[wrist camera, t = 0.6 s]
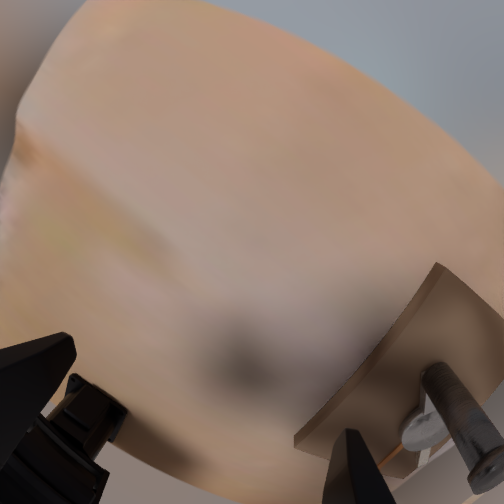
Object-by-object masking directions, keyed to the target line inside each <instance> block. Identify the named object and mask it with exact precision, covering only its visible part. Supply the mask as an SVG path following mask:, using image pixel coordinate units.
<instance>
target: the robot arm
mask: <svg viewBox="0 0 504 504" xmlns="http://www.w3.org/2000/svg"><path fill="white" fill-rule="evenodd" d="M76 356H77V353H76V348H75V344H74V340H73V337H72V336H71V335H69V334H67V333H65V332H59V333H56V334H53V335H49V336H46V337H42V338H39V339H35V340H32V341H28V342H24V343H21V344H17V345H14V346H10V347H7V348H3V349H0V504H99V501H100V499H101V496H102V493H103V490H104V488H105V485H106V483H107V480H108V477H109V474H110V473H109V472H108V471H107V470H106V469H103V468H101V467H100V466H99V465H98V464H96V463H95V462H94V460H95V458H96V457H97V455H98V454H99V452H100V451H101V449H102V448H103V446H104V445H105V443H106V441H109V442H111V443H112V442H113V441H114V440H115V438H116V436H117V434H118V432H119V430H120V428H121V426H122V423H123V421H124V419H125V417H126V415H127V411H126V409H124V408H123V407H121V406H120V405H118V404H117V403H115V402H114V401H112V400H111V399H109V398H108V397H106V396H105V395H103V394H102V393H100V392H99V391H98V390H96V389H95V388H93V387H92V386H91V385H89V384H88V383H86V382H85V381H84V380H82V379H81V378H80V377H78V376H77V375H76V374H74V373H72V374H71V375H70V376H69V379H68V383H67V388H66V392H65V397H64V399H63V400H62V401H61V402H60V403H59V404H58V405H57V406H56V407H55V409H53V410H52V412H51V413H50V414H49V415H48V416H47V417H46V418H45V417H44V416H43V415H42V414H41V413H40V412H41V411H42V410H43V408H44V407H45V406H46V404H47V403H48V402H49V400H50V399H51V398H52V396H53V395H54V393H55V392H56V391H57V389H58V387H59V386H60V384H61V383H62V381H63V379H64V378H65V376H66V374H67V373H68V371H69V369H70V368H71V366H72V365H73V363H74V361H75V360H76ZM27 431H28V432H29V433H28V432H27ZM322 504H396V502H395V500H394V498H393V496H392V494H391V492H390V490H389V488H388V486H387V484H386V482H385V480H384V478H383V476H382V474H381V472H380V470H379V468H378V466H377V464H376V462H375V461H374V459H373V457H372V455H371V453H370V451H369V449H368V447H367V445H366V443H365V441H364V439H363V437H362V435H361V433H360V432H359V430H357V429H353V428H345V429H343V431H342V432H341V434H340V435H339V437H338V438H337V440H336V441H335V443H334V445H333V449H332V454H331V459H330V463H329V468H328V473H327V477H326V481H325V486H324V491H323V498H322Z"/></svg>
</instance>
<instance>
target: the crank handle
mask: <svg viewBox="0 0 504 504" xmlns="http://www.w3.org/2000/svg"><path fill="white" fill-rule="evenodd" d="M449 433H450V435H451V437H452V439H453V441H454V443H455V444H456V446H457V448H458V450H459V452H460V454H461V456H462V457H463V459H464V461H465V463H466V465H467V467H468V469H469V471H470V473H469V475H468V477H467V480H468V483H469V485H470V487H471V489H472V491H473V493H474V494H476V495H478V494H482V493H484V492H487V491H489V490H490V489H492V488H494V487H495V486H497V485H498V484H500V483H501V482H502V481H504V439H503V438H502V436H501V435H500V433H499V432H498V430H497V429H496V427H495V426H494V425H493V423H492V422H491V420H490V419H489V418H488V416H487V415H486V414H485V412H484V411H483V409H482V408H481V407H480V405H479V404H478V402H477V401H476V400H475V398H474V397H473V396H472V394H471V393H470V392H469V391H468V389H467V388H466V387H465V385H464V384H463V383H462V381H461V380H460V379H459V378H458V376H457V375H456V374H455V372H454V371H453V370H452V369H451V367H450V366H449V365H448V364H447V363H445V362H438V363H436V364H434V365H432V366H431V367H429V368H428V369H427V370H426V371H424V372H421V388H420V402H419V407H418V408H416V409H415V410H414V411H412V412H411V413H410V414H409V415H408V416H407V417H406V418H405V419H404V421H403V422H402V424H401V426H400V428H399V437H400V439H401V442H402V445H403V447H404V448H405V449H406V450H408V451H417V452H416V458H415V461H416V463H417V466H418V467H419V466H422V465H425V464H427V463H428V459H429V454H430V450H431V447H432V446H434V445H436V444H438V443H439V442H440V441H442V440H443V439H444V438H445V437H446V436H447V435H448V434H449Z"/></svg>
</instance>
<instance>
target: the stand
mask: <svg viewBox="0 0 504 504" xmlns="http://www.w3.org/2000/svg"><path fill="white" fill-rule="evenodd" d="M438 362H445V363H447V364H448V365H449V366H450V367H451V369H452V370H453V371H454V372H455V374H456V375H457V376H458V378H459V379H460V380H461V381H462V383H463V384H464V385H465V387H466V388H467V389H468V391H469V392H470V393H471V394H472V396H473V397H474V398H475V400H476V401H477V402H478V404H479V405H480V407H481V406H482V405H483V404H484V403H485V401H486V400H487V399H488V398H489V397H490V396H491V394H492V393H493V392H494V391H495V389H496V388H497V387H498V385H499V384H500V383H501V382H502V381H503V379H504V319H503V318H502V317H501V316H500V315H499V314H498V313H497V312H496V311H495V310H494V309H492V308H491V307H490V306H489V305H488V304H487V303H486V302H485V301H484V300H483V299H482V298H481V297H480V296H478V295H477V294H476V293H475V292H474V291H473V290H472V289H471V288H469V287H468V286H467V285H466V284H465V283H464V282H463V281H461V280H460V279H459V278H458V277H457V276H456V275H454V274H453V273H452V272H451V271H450V270H449V269H447V268H446V267H444V266H443V265H441V264H439V263H437V262H436V263H435V265H434V266H433V268H432V270H431V271H430V273H429V274H428V276H427V277H426V279H425V280H424V282H423V284H422V285H421V287H420V288H419V290H418V291H417V293H416V294H415V295H414V297H413V298H412V300H411V301H410V303H409V304H408V306H407V307H406V308H405V310H404V311H403V313H402V314H401V315H400V317H399V318H398V319H397V321H396V322H395V323H394V325H393V326H392V327H391V329H390V330H389V331H388V333H387V334H386V335H385V337H384V338H383V339H382V340H381V342H380V343H379V344H378V346H377V347H376V348H375V349H374V351H373V352H372V353H371V354H370V355H369V357H368V358H367V359H366V360H365V361H364V363H363V364H362V365H361V366H360V367H359V369H358V370H357V371H356V372H355V373H354V374H353V375H352V377H351V378H350V379H349V380H348V381H347V382H346V383H345V384H344V386H343V387H342V388H341V389H340V390H339V391H338V392H337V393H336V394H335V395H334V396H333V397H332V399H331V400H330V401H329V402H328V403H327V404H326V405H325V406H324V407H323V408H322V409H321V410H320V411H319V412H318V413H317V414H316V415H315V416H314V417H313V418H312V419H311V420H310V421H309V422H308V423H307V424H306V425H305V426H304V427H303V428H302V429H301V430H300V431H299V432H297V433H296V434H295V435H294V448H295V449H298V450H301V451H304V452H307V453H309V454H312V455H315V456H318V457H321V458H324V459H328V460H330V459H331V454H332V449H333V445H334V443H335V441H336V440H337V438H338V437H339V435H340V434H341V432H342V431H343V429H345V428H353V429H357V430H359V432H360V433H361V435H362V437H363V439H364V441H365V443H366V445H367V447H368V449H369V451H370V453H371V455H372V457H373V459H374V461H375V462H376V464H377V466H378V468H379V470H380V472H381V474H382V475H387V476H391V477H396V478H401V479H404V478H405V477H406V476H408V475H409V474H410V473H411V472H413V471H414V470H415V469H416V468H418V466H417V463H416V461H415V458H416V452H417V451H408V450H406V449H405V448H404V447H403V445H402V442H401V439H400V437H399V428H400V426H401V424H402V422H403V421H404V419H405V418H406V417H407V416H408V415H409V414H410V413H411V412H412V411H414V410H415V409H416V408H418V407H419V402H420V388H421V372H424V371H426V370H427V369H428V368H429V367H431V366H432V365H434V364H436V363H438ZM450 438H451V435H450V433H449V434H448V435H447V436H446V437H445V438H444V439H443V440H442V441H440V442H439V443H438V444H436V445H434V446H432V447H431V450H430V454H429V458H430V457H431V456H432V455H433V454H434V453H435V452H436V451H438V450H439V449H440V448H441V447H442V446H443V445H444V444H445V443H446V442H447V441H448V440H449V439H450Z"/></svg>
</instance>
